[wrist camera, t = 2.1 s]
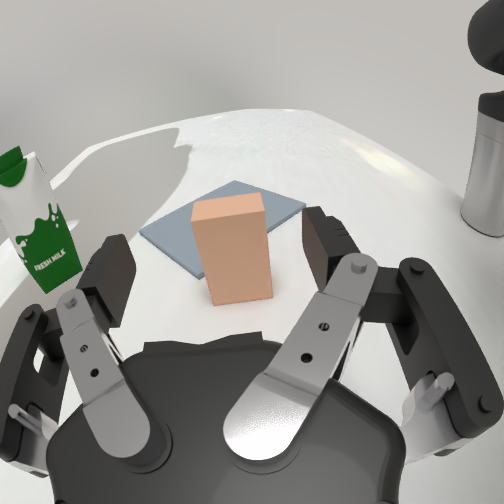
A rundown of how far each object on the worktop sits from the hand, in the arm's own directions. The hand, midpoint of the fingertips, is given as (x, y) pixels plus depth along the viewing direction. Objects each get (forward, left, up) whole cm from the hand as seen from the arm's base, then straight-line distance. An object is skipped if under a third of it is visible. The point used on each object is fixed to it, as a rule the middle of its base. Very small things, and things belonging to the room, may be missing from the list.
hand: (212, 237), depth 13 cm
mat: (-15, -22, -14) cm, 30 cm away
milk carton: (+9, -33, -15) cm, 37 cm away
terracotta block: (-7, -9, -14) cm, 18 cm away
